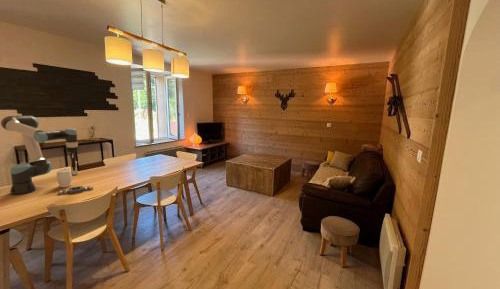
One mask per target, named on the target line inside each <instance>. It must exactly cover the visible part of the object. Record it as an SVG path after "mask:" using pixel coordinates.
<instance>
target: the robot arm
mask: <svg viewBox="0 0 500 289" xmlns="http://www.w3.org/2000/svg"><path fill="white" fill-rule="evenodd" d="M0 125H1V127H2V128H3V129H4V130H7V132H8V131H9V132H16V133H19V134H21V136H22V139H23V143H24V146H25V149H26V151H27V155H28V158H29V161H28V162H25V163H24V162H23V163H19V164H15V165H12V166H11V167H10V172H9V173H10V178H11V186H10V190H9V194H10V195H14V196H19V195H25V194H29V193H34V192H35V191H36V190H37V188H36V185H35V184H34V182H33V178H36V177H38V176H45V175H47V174H49V173H50V172H51V171H52V169H53V168H52V167H53V166H52V163H51V162H50V161H49V160H47V158H45V157H44V156H43V152H42V149H41V146H40V143H43V142H49V141H56V140H57V141H58V140H65V143H64V144H65V145H66V146H65V147H66V152H68V153H69V158H70V160H71V161H70V162H71V163H72V166H71V165H70V168H71V167H72V174H76V165H75V161H76V157H77V153H76V152H79V147H78V146H79V143H78V142H79V141H78V133H77V129H76V128H66V129H65V128H64V130H62V129H55V130H48V131H45V130H41V129H40V128H39V125H40V124H39V121H38V119H37V118H36V117H35V116H33V115H9V116H5V117H3V118H2V119H1V121H0ZM71 163H70V164H71Z"/></svg>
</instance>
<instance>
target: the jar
mask: <svg viewBox="0 0 500 289" xmlns="http://www.w3.org/2000/svg"><path fill="white" fill-rule="evenodd" d="M72 178H73V176H72V174H71V168H63V169H58V170H56V180H57V183H58V185H59V186H58V187H59V188H66V187H67V188H69V187H70V186H71V185H72V184H71V182H72Z"/></svg>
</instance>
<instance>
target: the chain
mask: <svg viewBox="0 0 500 289" xmlns="http://www.w3.org/2000/svg"><path fill="white" fill-rule="evenodd" d="M92 190H94V188H93V185H88V186H83V185H80V186H79V185H77V186H72V187H68V189H66V188H65V189H63V190H62V189H59V190H58V191H57V195H68V194H69V195H72V194H78V193H79V194H80V193H83V192H87V191H92Z"/></svg>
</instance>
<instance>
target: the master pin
mask: <svg viewBox="0 0 500 289" xmlns="http://www.w3.org/2000/svg"><path fill="white" fill-rule="evenodd" d="M77 163H78V161H77V160H75V165H76V174H72V167H71V166H72V163H71V161H70V162H69V164H70V169H71V174H72V177H76V176H78V174H79V173H78V168H77V167H78V165H77Z"/></svg>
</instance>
